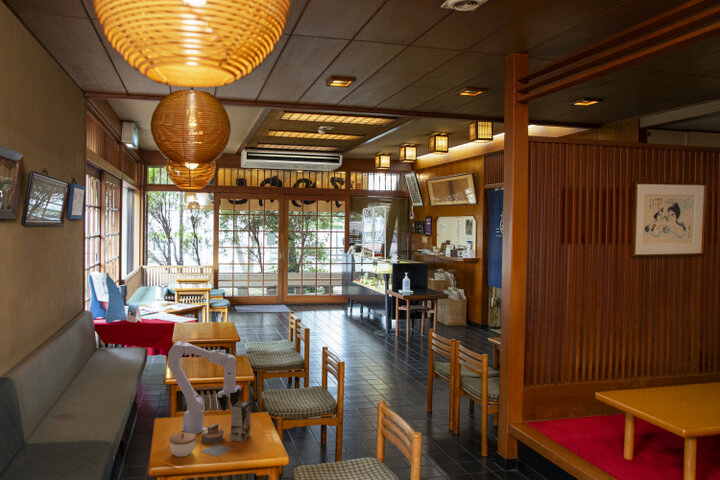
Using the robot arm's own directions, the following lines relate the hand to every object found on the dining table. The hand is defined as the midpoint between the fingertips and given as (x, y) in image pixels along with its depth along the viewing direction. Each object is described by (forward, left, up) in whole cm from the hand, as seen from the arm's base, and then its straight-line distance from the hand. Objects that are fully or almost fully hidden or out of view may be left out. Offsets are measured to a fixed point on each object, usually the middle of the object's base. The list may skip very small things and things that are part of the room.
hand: (229, 408), depth 268 cm
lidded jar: (+3, -33, -11) cm, 35 cm away
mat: (+13, -22, -10) cm, 28 cm away
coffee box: (+12, -5, -11) cm, 17 cm away
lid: (+3, -14, -7) cm, 16 cm away
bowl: (+3, -14, -10) cm, 18 cm away
